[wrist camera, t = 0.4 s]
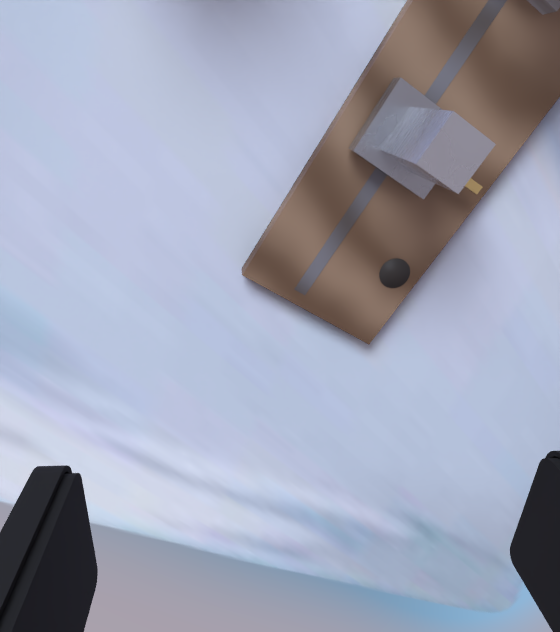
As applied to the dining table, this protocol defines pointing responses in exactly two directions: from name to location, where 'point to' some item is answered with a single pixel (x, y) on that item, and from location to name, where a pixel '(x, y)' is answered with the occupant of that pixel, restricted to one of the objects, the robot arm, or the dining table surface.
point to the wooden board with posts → (385, 193)
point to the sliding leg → (421, 142)
